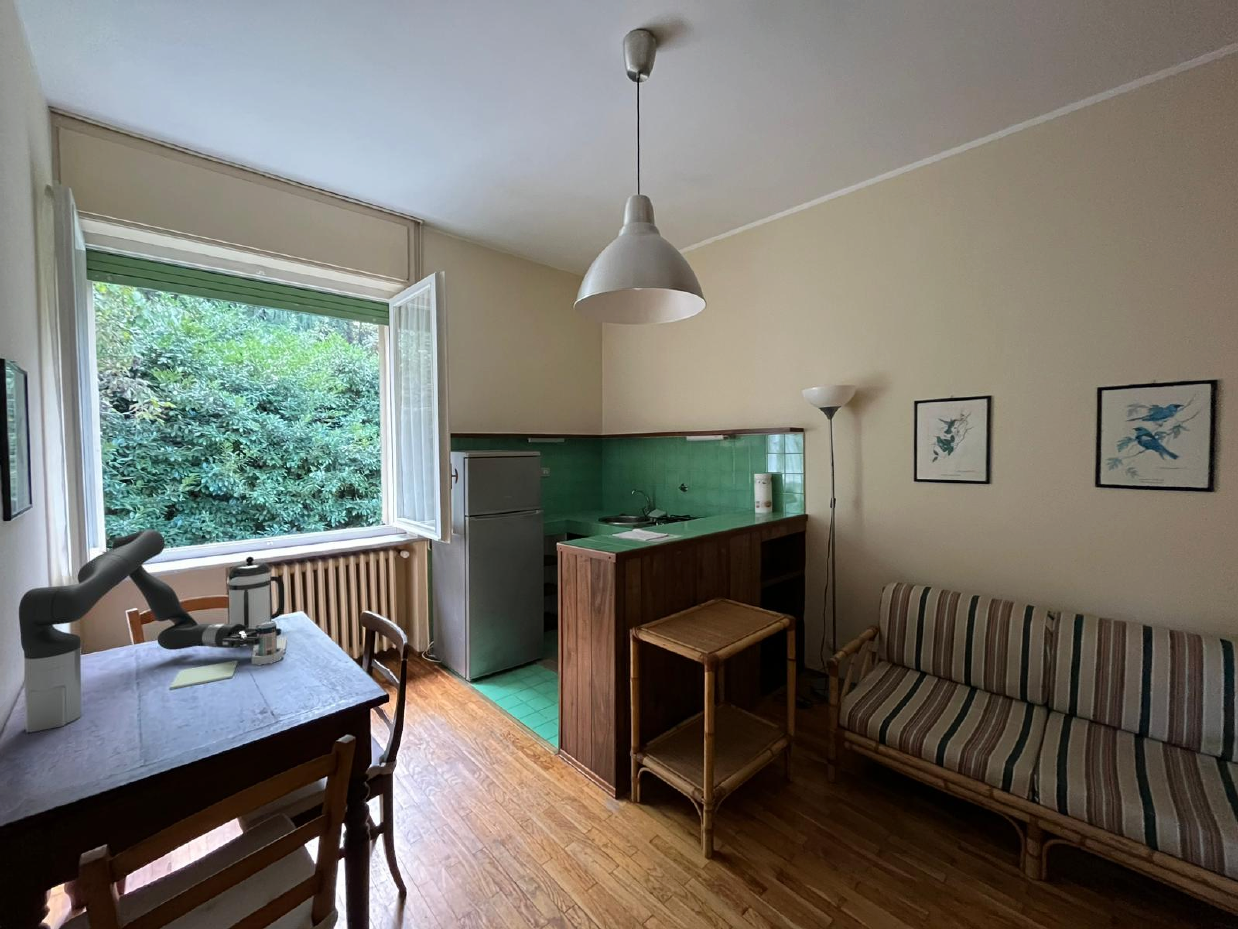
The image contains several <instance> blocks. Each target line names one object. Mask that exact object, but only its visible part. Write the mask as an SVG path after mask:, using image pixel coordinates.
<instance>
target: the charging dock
mask: <svg viewBox="0 0 1238 929" xmlns="http://www.w3.org/2000/svg"><path fill="white" fill-rule="evenodd" d="M286 639H287V636H284V637H277V653H274V654H271V655H266V656H259V650H258V645H253V649H252V651H251V652H252V653H251V665H254V664H264V665H268V664H267V663H269V664H272V663H271V662H274V661H276V662H278V661H277V660H279V659H280V658H282V657H283V658H284V654H283V652H284V651H285V652H286V649H285V647H286V648H287V642H286ZM279 661H280V660H279ZM274 663H275V662H274Z"/></svg>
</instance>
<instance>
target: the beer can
mask: <svg viewBox="0 0 1238 929" xmlns="http://www.w3.org/2000/svg"><path fill="white" fill-rule="evenodd" d="M276 628H277V623H276V621H274V620H271V621H267V622H263V623H261V624H260V625H259V627H258V637H259V638H260V644H258V650H259V656H266V655H271V654H274V653H277V638H278V636H277V634H276Z"/></svg>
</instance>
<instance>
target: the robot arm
mask: <svg viewBox="0 0 1238 929" xmlns="http://www.w3.org/2000/svg"><path fill="white" fill-rule="evenodd" d="M165 544H166V540H165V538H164V536H163V535H162V533H161V532H159V531H158V530H155V529H149V528H147V529H142V530H139V531H136V532H133V533H129V534H126V535H124V536H121V537H118V538H116V539H115V540H114V541H113V542H112V549H111V550H108V551H106V552H104V553H101V554H99V555H97V556H96V557H94V558H93V559H91V560H90V561H88V562H87V563H85V564H83V565H82V567H81V568H80V569H79V571H78V572H77V581H78V583H76V584H69V585H60V586H59V585H58V586H46V587H37V588H32V589H30V590H28V591H26V592H25V593H24V594H23V596H22V598H21V599H20V602H19V605H18V606H19V607H18V622H19V633H20V643H21V648H22V650H23V656H24V657H23V658H24V660H23V662H24V666H23V667H24V670H23V672H24V677H23V678H24V682H23V683H24V684H23V685H24V688H23V689H24V730H25V729H26V730H25V731H26V733H27V732H30V733H35V732H39V731H44V730H50V729H54V728H60V727H64V726H66V724H68V723H71V722H73V721H75V720H77V719H78V718H80V717H81V716H82V641H81V637H80V636H79V635H77V634H76V633H69V632H64V631H61V630H59V629H57V628H56V627H54V626H55V625H64V624H70V623H73V622H77V621H79V620H81V619H82V618H84V616H86V615H87V613H89V612H90V611H91V610H92V609H93V607H94V606H95V605H96V604H97V603H98V602H99V601H100V600H101V599H102V598H103V597H104V596H106V595H107V594H108V593H109V592H110V591H111V590H112V589H113V588H115V587H116V586H118V585H119V584H120V583H122V582H123V581H124V580H126V578H128V577H129V578H130V579H131V580H132V582H133V583H134V584H135V586H136V587H137V588H138V589H139V591H140V593H141V594H142V596H143V597H144V599H145V600H146V602H147V604H148V605H147V606H148V607H149V609H150V611H151V612H152V615H153V617H154V618H155V620H156V621H157V622H159V623H161V622H165V621H170V622H172V623H173V625H171V626H169V627H167V628H165V629H163V630H162V631H161V632H160V633H158V635H157V638H156V639H157V644H158V645H159V646H160V647H161V648H163V649H165V650H170V651H173V650H182V649H188V648H189V649H190V648H192V647H193V648H194V647H209V648H210V647H211V648H218V649H219V648H220V649H221V648H223V649H225V648H227V649H239V648H241V647H242V646H243V647H245V646H248V645H249V646H254V645H258V644H260V638H259V637H258V636H257V634H258V627H259V625H257V626H256V628H245V626H244V625H242V624H232V623H229V622H228V623H226V622H224V623H223V622H221V623H200V624H198V622H197V621H196V620H195V619H194V618H193V617H192V616H191V615H190V614H189V612H187V611H186V609H185V608H183V606H182V604H181V602H180V599H179V598H178V596H177V594H176V592H175V590H174V589H173V588H172V587H171V586H170V585H169V584H168V583H165V582H164V581H162V580H160V579H158V578H157V577H155V576H154V575H152V574H150V573H149V572H148V571H147V570H146V569H145V568H144V566H143V565H144V564H145V563H147V561H149V560H151V559H152V558H155V557H156V556H158V555H161V553H162V552H163V551H164V549H165ZM276 634H277V637H278V636H280V635H282V628H277V627H276Z"/></svg>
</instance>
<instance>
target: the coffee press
mask: <svg viewBox="0 0 1238 929" xmlns="http://www.w3.org/2000/svg"><path fill="white" fill-rule="evenodd" d="M245 561H246V562H245V563H240V564H236V565H234V566H233V567H232V568H230V570H229V572H227V579H226V584H227V587H228V593H227V594H228V596H227V598H228V623H232V624H242V625H244V626H245V628H256V626H257V625H260V624H261V623H263V622H267V621H273V620H274V619H276V618H278V617H280V616H281V614H282V613H283V611H284V609H285V582H284V581H283V579H282V578H281V577H279V576H271V572H272V568H271V567H270V565H269V564H268V563H265V562H257V561H256V562H254V557H252V556H248V557H246V559H245ZM272 582H275V583H276V584H277V599H278V600H277V601H278V603H277V605H278V606H277V610H276V611H275V612H274V613H272ZM257 636H258V634H257Z"/></svg>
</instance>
